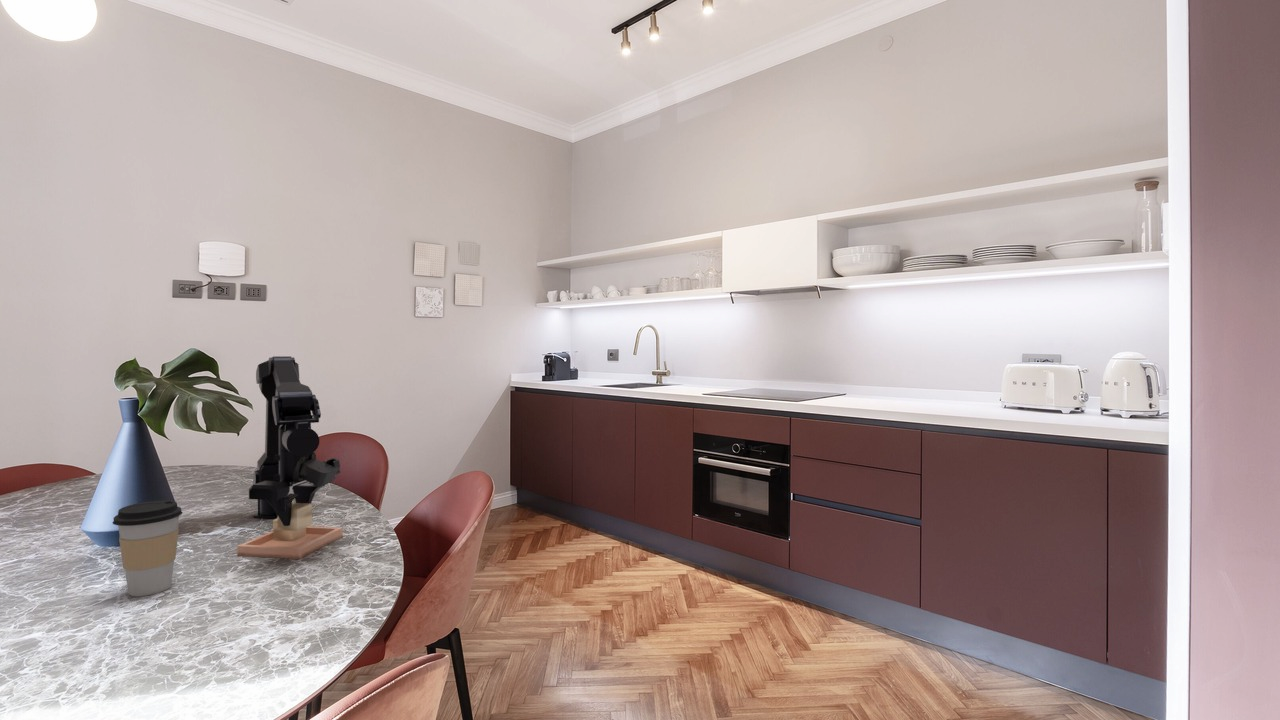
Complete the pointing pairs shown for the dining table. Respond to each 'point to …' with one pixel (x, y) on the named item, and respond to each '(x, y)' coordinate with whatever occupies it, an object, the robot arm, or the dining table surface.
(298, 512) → the block
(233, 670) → the dining table surface
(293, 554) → the tray
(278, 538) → the block
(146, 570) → the coffee cup
